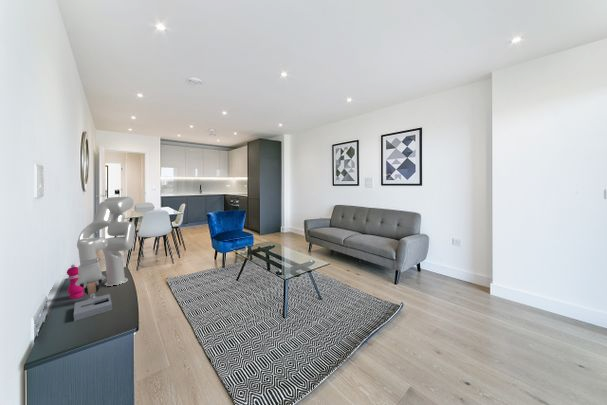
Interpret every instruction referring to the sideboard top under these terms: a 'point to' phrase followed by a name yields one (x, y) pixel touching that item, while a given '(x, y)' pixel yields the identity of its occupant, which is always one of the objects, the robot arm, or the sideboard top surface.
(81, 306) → the keyhole board
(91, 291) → the keyhole peg
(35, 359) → the sideboard top surface
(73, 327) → the sideboard top surface
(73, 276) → the pepper mill
